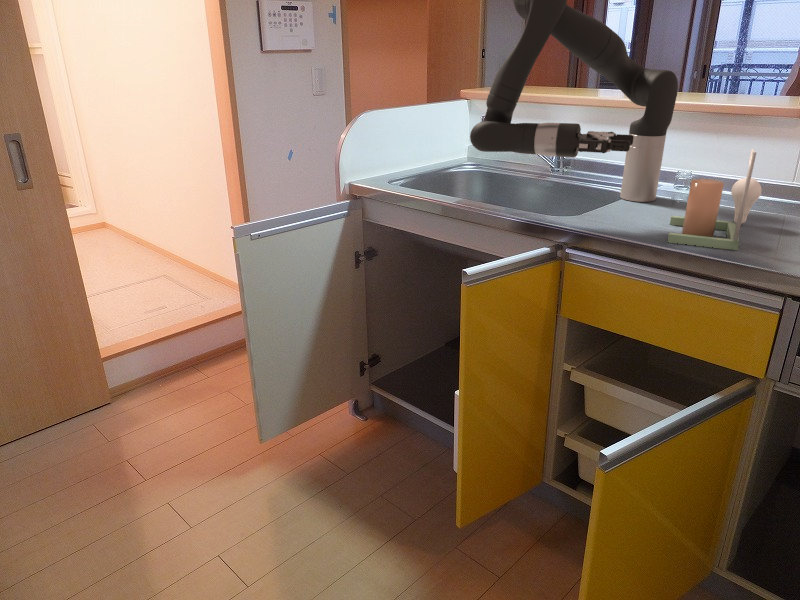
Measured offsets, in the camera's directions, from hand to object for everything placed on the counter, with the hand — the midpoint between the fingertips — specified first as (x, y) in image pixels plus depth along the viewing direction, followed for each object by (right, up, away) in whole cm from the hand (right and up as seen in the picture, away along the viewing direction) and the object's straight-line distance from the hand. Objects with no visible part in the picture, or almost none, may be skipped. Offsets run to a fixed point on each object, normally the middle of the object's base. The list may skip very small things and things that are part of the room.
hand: (631, 143), depth 138 cm
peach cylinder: (+15, -20, +1) cm, 25 cm away
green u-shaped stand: (+15, -20, +1) cm, 25 cm away
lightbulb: (+29, -17, +10) cm, 35 cm away
